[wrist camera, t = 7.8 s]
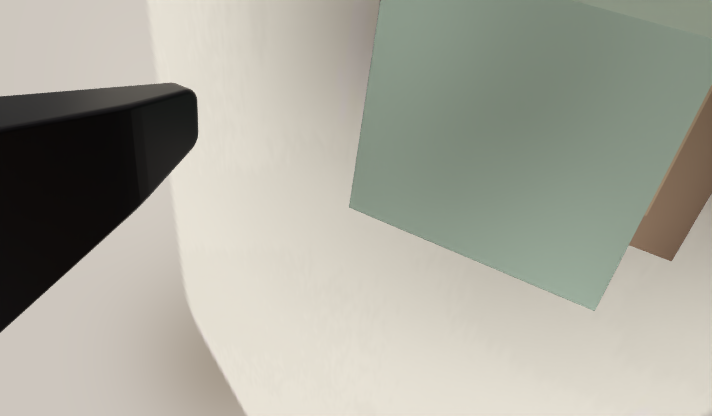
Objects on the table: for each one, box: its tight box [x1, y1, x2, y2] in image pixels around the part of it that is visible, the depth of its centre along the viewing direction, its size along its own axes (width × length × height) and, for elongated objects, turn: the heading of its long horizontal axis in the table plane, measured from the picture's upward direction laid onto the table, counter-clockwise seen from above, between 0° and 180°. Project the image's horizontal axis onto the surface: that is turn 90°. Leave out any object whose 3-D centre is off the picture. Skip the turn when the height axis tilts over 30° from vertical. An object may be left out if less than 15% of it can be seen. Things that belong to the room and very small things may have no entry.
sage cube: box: [349, 0, 712, 311], centre depth 14 cm, size 6×6×6 cm
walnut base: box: [629, 85, 712, 261], centre depth 18 cm, size 10×10×3 cm
